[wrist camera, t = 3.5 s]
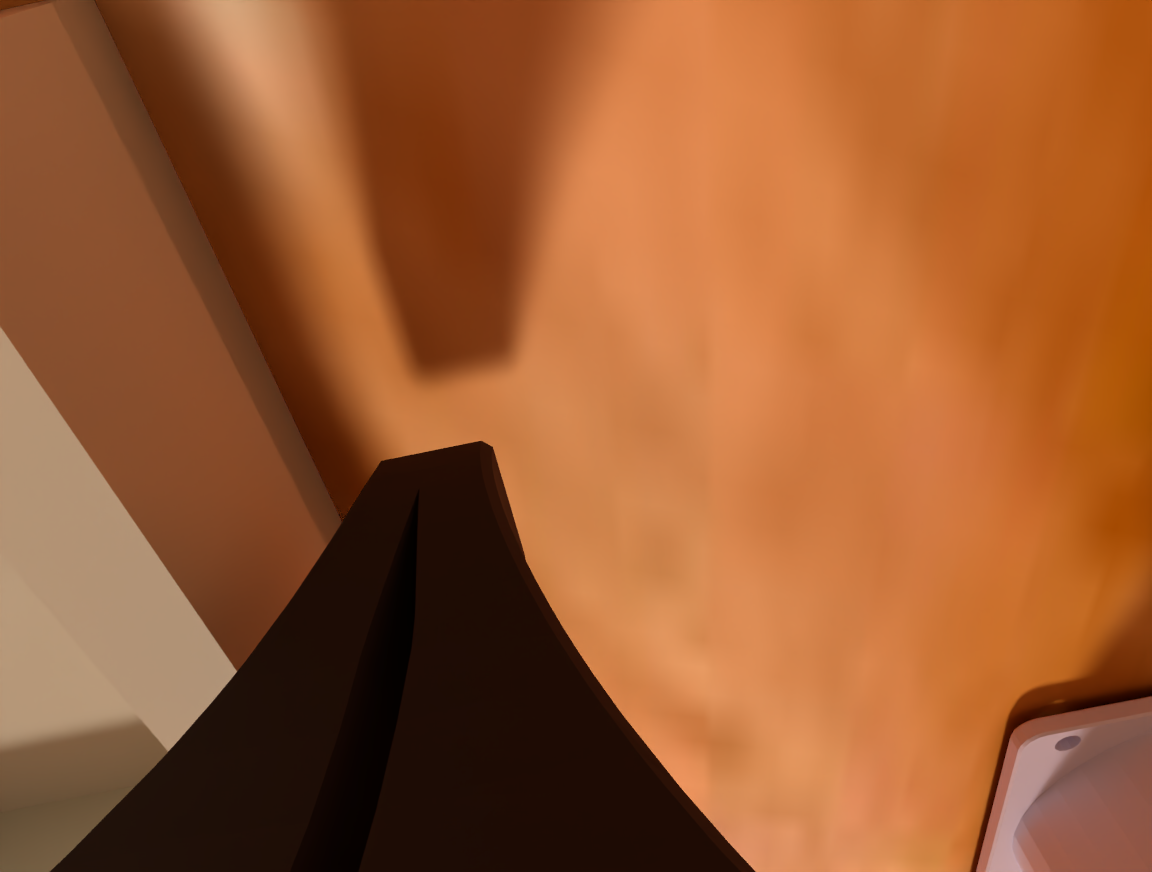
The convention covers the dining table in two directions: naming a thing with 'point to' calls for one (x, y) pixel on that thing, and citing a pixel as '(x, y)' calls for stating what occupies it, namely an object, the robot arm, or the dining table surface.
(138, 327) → the tray
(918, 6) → the dining table surface
